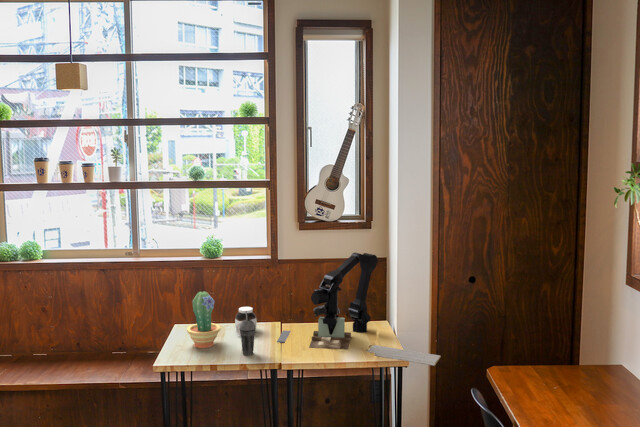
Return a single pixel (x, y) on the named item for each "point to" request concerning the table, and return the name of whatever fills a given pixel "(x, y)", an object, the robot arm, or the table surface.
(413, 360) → the baseboard molding
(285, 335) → the rubber mat
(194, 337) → the potted cactus
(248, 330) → the beverage cup
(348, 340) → the board rack
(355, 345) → the table surface
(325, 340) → the offcut stack
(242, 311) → the spread jar
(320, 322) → the tall board
